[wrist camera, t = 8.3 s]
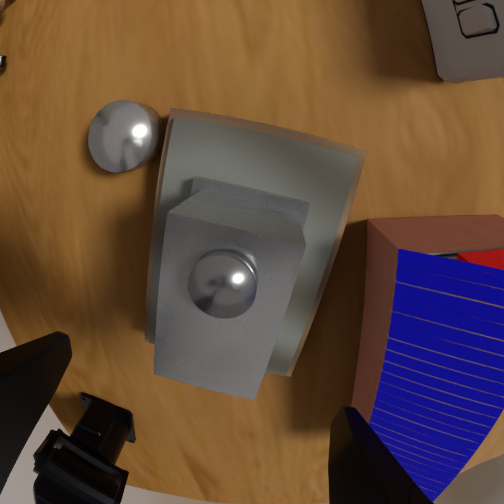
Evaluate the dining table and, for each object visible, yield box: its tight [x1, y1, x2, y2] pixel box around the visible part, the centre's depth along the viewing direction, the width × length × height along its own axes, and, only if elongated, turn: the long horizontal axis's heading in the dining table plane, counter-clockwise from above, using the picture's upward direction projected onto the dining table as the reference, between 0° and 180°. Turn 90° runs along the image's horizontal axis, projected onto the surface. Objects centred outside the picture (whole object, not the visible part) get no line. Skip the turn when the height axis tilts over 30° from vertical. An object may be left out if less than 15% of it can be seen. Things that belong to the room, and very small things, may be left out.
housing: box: [154, 176, 310, 400], centre depth 14 cm, size 9×6×7 cm, turn 168°
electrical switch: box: [421, 0, 504, 83], centre depth 9 cm, size 9×5×9 cm, turn 6°
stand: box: [145, 108, 366, 377], centre depth 19 cm, size 16×11×2 cm
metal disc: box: [88, 100, 165, 173], centre depth 17 cm, size 4×4×2 cm
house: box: [351, 215, 504, 502], centre depth 16 cm, size 12×20×12 cm, turn 6°
